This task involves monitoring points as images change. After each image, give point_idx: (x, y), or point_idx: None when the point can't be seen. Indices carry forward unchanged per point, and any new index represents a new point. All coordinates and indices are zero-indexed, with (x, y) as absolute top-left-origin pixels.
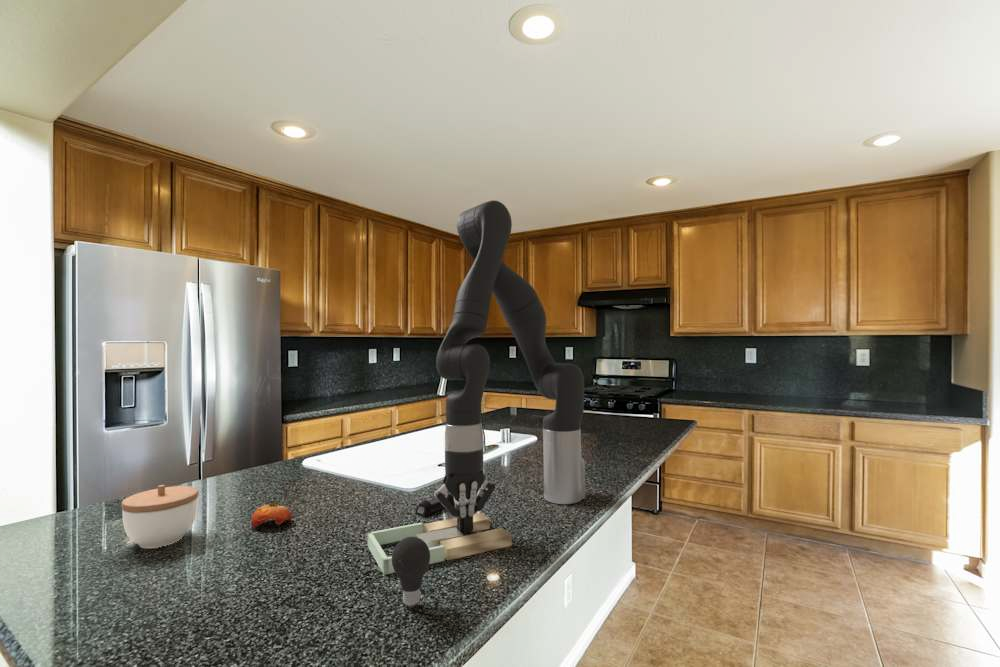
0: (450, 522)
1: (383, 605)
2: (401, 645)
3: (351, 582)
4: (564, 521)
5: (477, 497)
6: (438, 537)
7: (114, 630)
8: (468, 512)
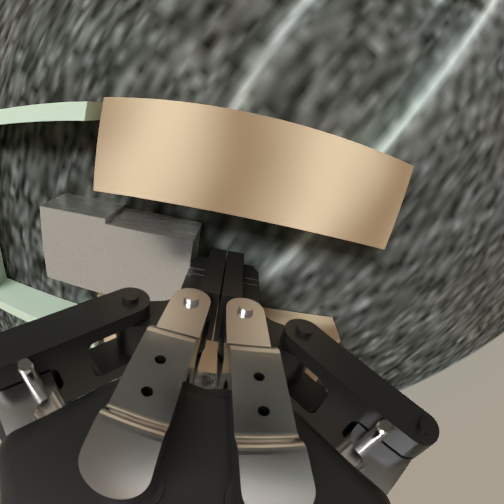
0: (218, 155)
1: None
2: None
3: None
4: (485, 317)
5: (323, 377)
6: (96, 280)
7: None
8: (216, 361)
